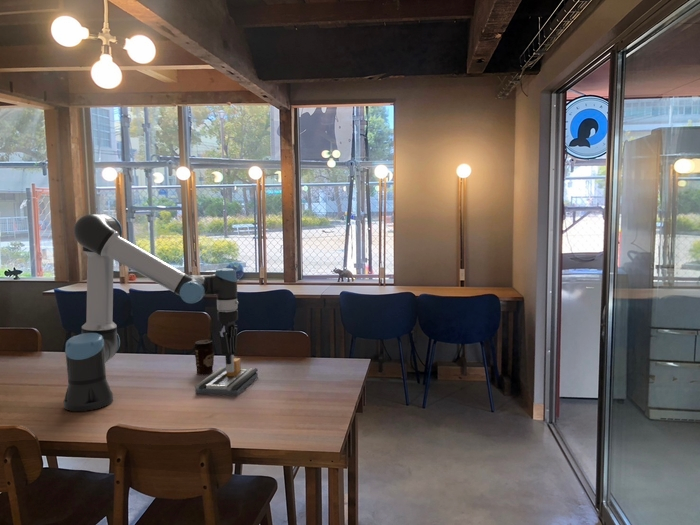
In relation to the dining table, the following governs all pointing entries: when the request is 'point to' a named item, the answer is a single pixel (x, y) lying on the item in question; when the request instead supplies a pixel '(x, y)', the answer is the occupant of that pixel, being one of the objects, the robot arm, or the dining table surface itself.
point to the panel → (226, 384)
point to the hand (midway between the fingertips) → (230, 371)
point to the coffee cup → (204, 356)
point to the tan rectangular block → (235, 367)
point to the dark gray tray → (234, 384)
